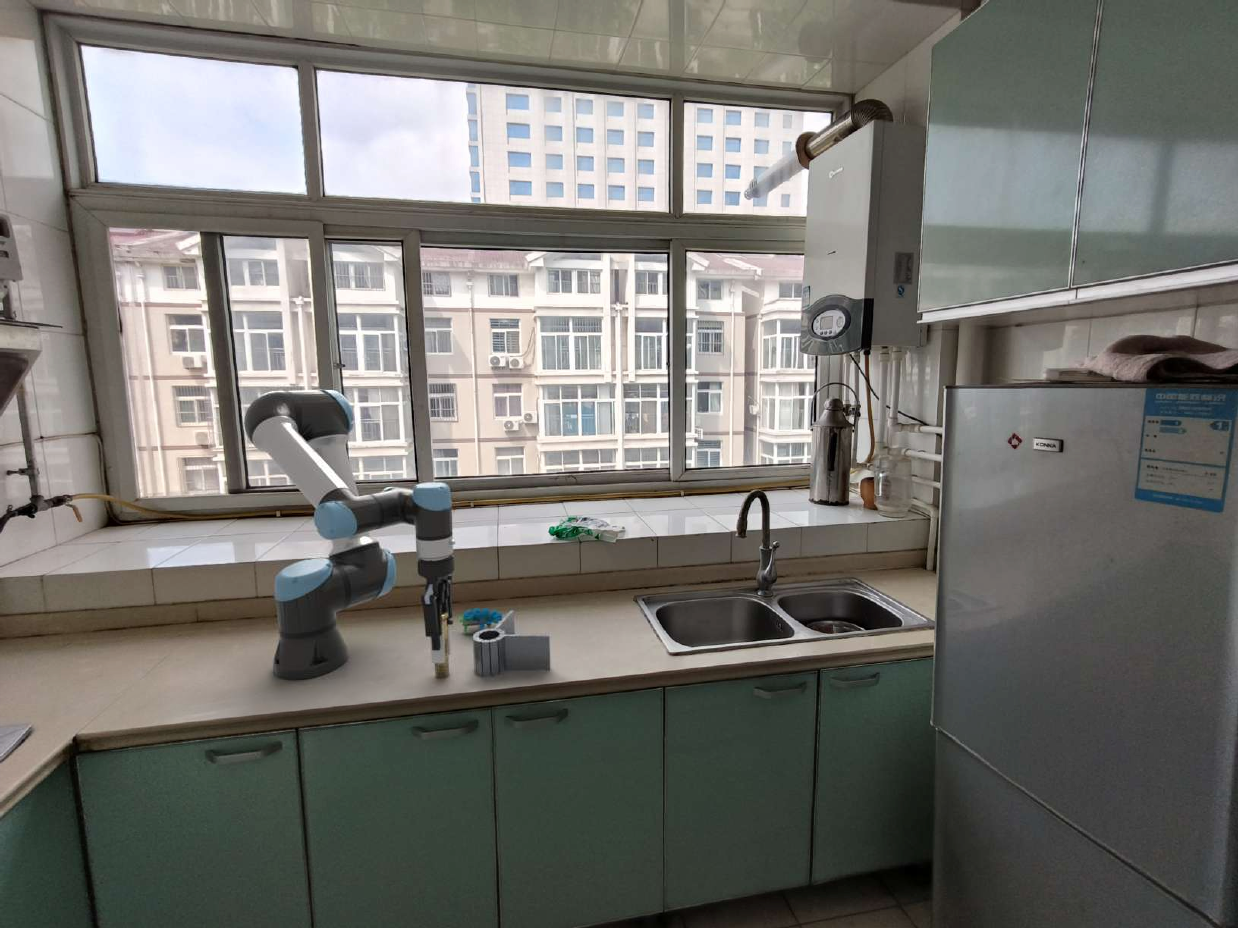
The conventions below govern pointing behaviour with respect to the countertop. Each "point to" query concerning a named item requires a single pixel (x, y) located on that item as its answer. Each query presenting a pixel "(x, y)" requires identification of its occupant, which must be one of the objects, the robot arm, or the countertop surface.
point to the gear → (480, 618)
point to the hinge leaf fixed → (509, 652)
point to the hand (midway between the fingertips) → (441, 657)
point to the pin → (443, 668)
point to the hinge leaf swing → (507, 623)
